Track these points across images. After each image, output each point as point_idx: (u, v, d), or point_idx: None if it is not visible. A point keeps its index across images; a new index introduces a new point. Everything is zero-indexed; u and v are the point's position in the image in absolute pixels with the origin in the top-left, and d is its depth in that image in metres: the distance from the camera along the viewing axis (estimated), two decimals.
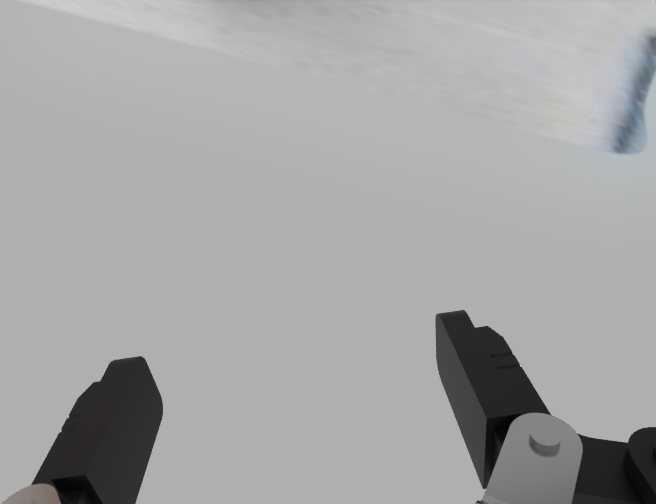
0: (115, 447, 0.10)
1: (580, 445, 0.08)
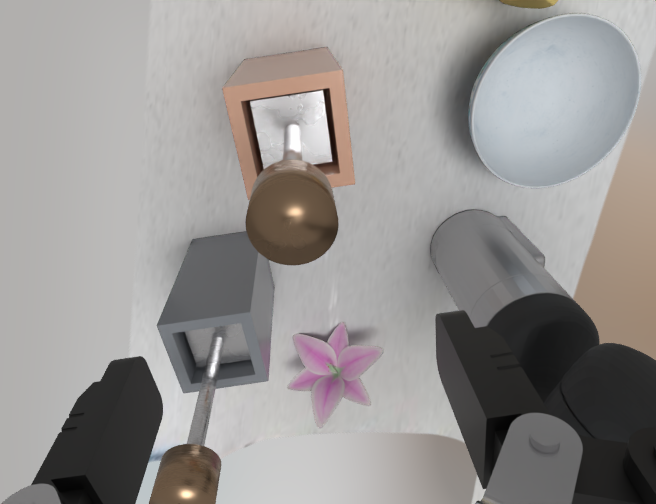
0: (115, 447, 0.10)
1: (580, 445, 0.08)
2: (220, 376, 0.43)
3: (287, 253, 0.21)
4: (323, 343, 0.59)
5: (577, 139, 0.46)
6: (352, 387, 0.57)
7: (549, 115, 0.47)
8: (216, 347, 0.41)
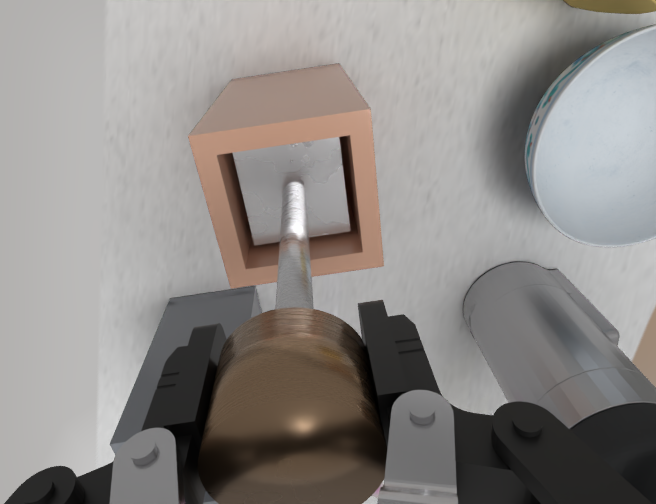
0: None
1: (451, 417, 0.09)
2: None
3: None
4: None
5: None
6: None
7: (623, 149, 0.37)
8: None
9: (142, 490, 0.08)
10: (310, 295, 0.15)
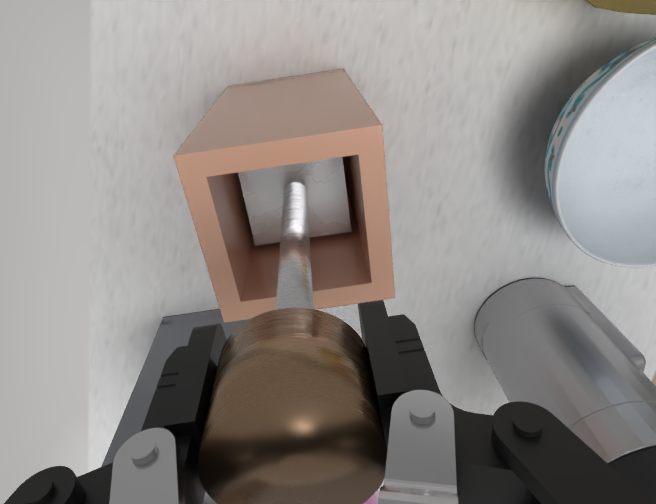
0: None
1: (451, 417, 0.09)
2: None
3: None
4: None
5: None
6: (367, 500, 0.44)
7: (649, 160, 0.34)
8: None
9: (142, 490, 0.08)
10: (310, 295, 0.15)
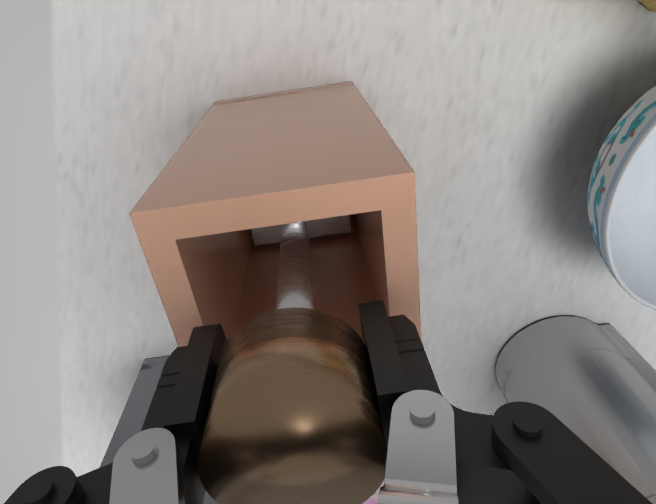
0: None
1: (451, 417, 0.09)
2: None
3: None
4: None
5: None
6: None
7: None
8: None
9: (142, 490, 0.08)
10: (310, 295, 0.15)
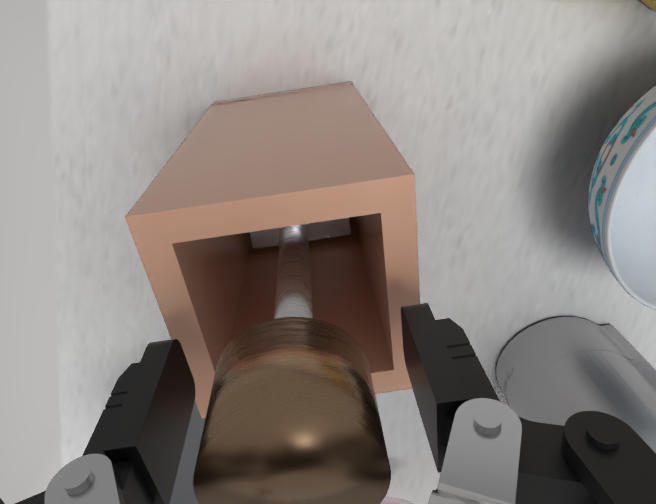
0: (158, 423, 0.11)
1: (519, 427, 0.09)
2: None
3: None
4: None
5: None
6: None
7: None
8: None
9: None
10: (310, 302, 0.15)
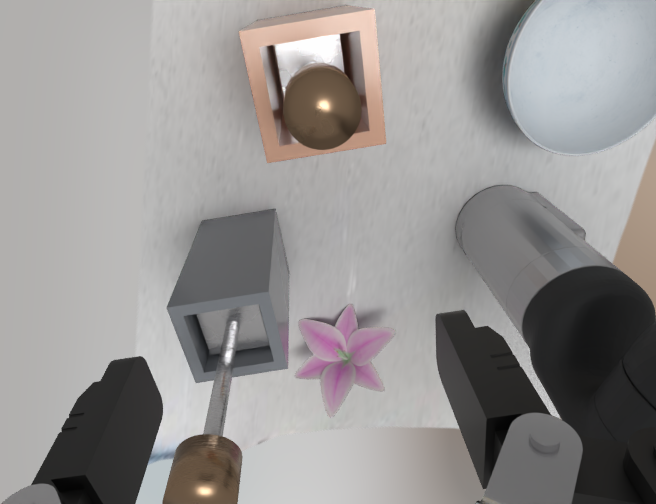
0: (115, 447, 0.10)
1: (580, 445, 0.08)
2: (235, 364, 0.39)
3: (317, 138, 0.24)
4: (330, 327, 0.56)
5: (619, 103, 0.42)
6: (364, 372, 0.53)
7: (587, 78, 0.44)
8: (231, 331, 0.38)
9: None
10: None
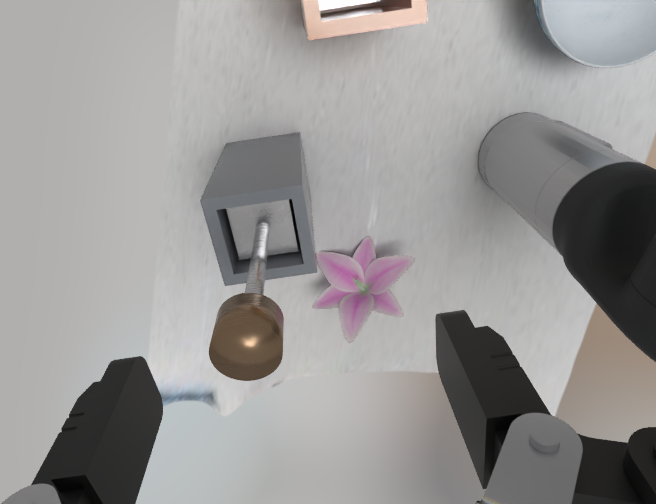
0: (115, 447, 0.10)
1: (580, 445, 0.08)
2: None
3: None
4: (348, 258, 0.56)
5: (647, 19, 0.43)
6: (382, 300, 0.53)
7: None
8: (263, 230, 0.38)
9: None
10: None
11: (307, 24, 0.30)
